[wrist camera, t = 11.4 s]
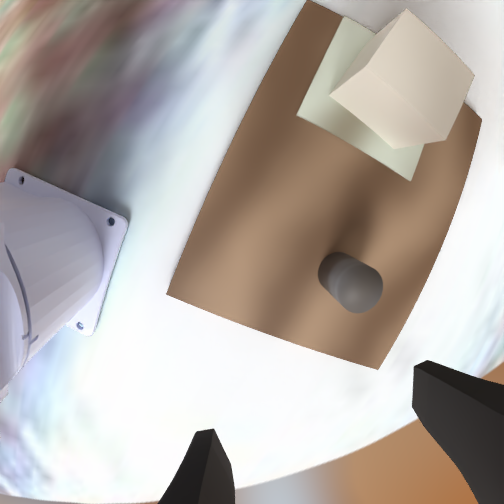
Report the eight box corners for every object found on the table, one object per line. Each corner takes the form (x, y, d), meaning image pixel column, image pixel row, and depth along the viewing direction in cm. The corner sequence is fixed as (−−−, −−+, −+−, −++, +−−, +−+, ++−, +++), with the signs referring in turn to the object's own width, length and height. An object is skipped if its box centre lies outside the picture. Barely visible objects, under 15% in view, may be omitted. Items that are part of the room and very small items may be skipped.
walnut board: (168, 289, 18) (154, 318, 14) (304, 5, 15) (323, -31, 11) (373, 364, 21) (400, 396, 16) (475, 120, 18) (514, 113, 14)
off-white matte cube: (394, 149, 17) (445, 140, 12) (328, 95, 16) (366, 66, 11) (425, 93, 16) (474, 75, 11) (367, 42, 15) (406, 8, 10)
